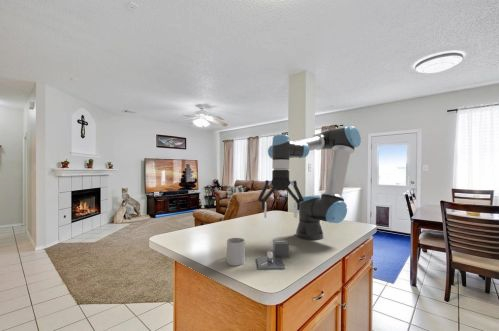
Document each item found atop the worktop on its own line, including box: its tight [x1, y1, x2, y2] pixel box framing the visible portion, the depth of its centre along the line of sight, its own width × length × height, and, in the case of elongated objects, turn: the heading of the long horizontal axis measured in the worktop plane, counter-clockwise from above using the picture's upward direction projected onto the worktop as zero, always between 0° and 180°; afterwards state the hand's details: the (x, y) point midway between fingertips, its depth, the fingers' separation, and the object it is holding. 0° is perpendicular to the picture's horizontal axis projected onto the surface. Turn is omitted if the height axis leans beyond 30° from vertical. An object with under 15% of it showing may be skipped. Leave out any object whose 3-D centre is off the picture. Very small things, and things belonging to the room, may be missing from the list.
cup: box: [226, 237, 246, 267], centre depth 93 cm, size 7×10×9 cm
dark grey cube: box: [272, 238, 290, 259], centre depth 100 cm, size 6×6×6 cm
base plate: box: [256, 250, 286, 270], centre depth 91 cm, size 10×10×4 cm
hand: (280, 217), depth 100 cm, fingers open, 13 cm apart
